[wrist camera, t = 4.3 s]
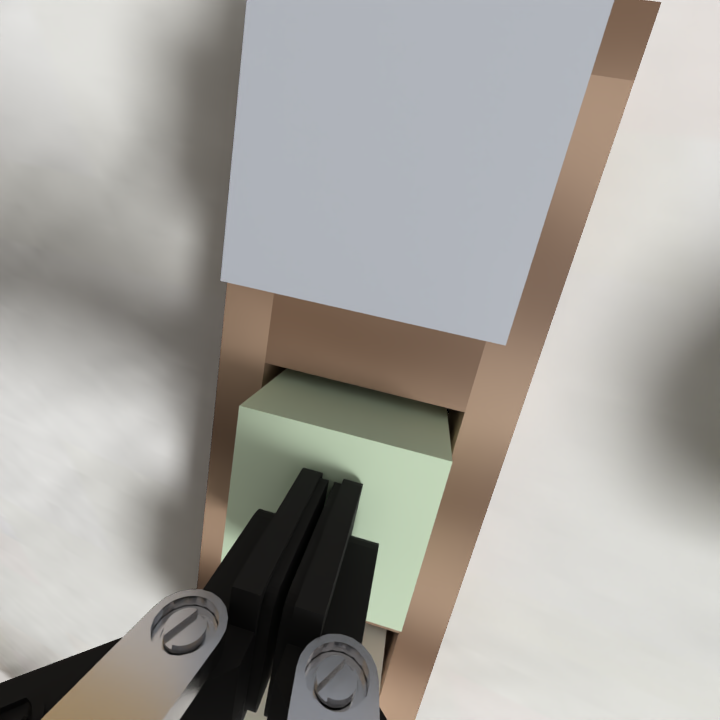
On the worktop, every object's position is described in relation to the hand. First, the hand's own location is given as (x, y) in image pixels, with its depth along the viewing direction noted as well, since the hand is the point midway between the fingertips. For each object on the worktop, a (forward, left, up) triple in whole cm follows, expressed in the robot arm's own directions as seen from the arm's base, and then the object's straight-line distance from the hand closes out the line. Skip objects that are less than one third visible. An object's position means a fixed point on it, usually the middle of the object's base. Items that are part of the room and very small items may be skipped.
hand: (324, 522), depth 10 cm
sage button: (0, 0, -5) cm, 5 cm away
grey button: (+6, +6, -4) cm, 9 cm away
